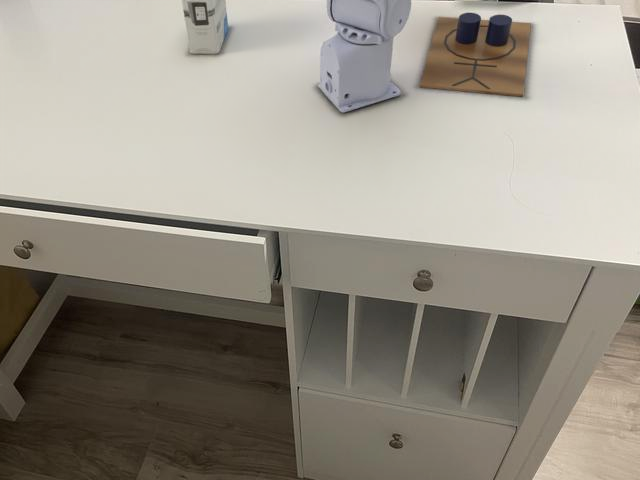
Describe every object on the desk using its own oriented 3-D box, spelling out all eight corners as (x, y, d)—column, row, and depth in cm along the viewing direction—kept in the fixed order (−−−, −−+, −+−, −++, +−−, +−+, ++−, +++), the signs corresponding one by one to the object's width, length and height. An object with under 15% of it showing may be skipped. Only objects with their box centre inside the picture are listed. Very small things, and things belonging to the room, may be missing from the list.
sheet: (522, 96, 92) (523, 93, 91) (419, 87, 95) (419, 84, 95) (530, 25, 103) (531, 22, 103) (438, 19, 107) (438, 16, 107)
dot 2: (493, 48, 99) (498, 27, 97) (480, 39, 101) (485, 17, 99) (511, 43, 100) (516, 21, 97) (498, 33, 102) (503, 12, 99)
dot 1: (463, 46, 101) (466, 24, 98) (451, 37, 103) (454, 15, 100) (481, 40, 101) (485, 19, 99) (469, 31, 103) (473, 10, 101)
